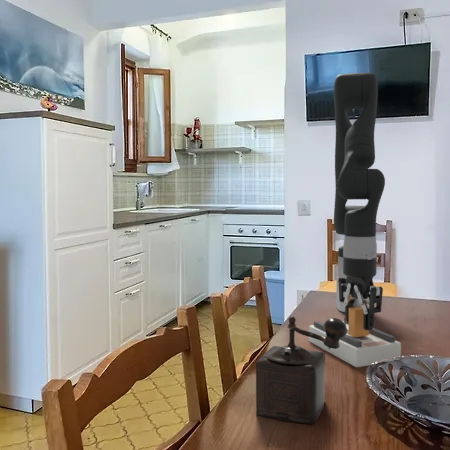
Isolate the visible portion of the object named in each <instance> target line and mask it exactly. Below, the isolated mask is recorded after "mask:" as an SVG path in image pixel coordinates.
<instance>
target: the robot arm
mask: <svg viewBox="0 0 450 450" xmlns="http://www.w3.org/2000/svg"><path fill="white" fill-rule="evenodd" d="M333 86H334V87H333V103H334V118H335V119H334V120H335V121H334V122H335V147H334V176H335V179H334V180H335V181H334V182H335V192H334V194H335V195H334V209H333V211H334V212H333V213H334V214H333V227H334V231H335V233H336V234H337V235H341V236H344V239H343V245H341V246H339V247H338V249H337V250H338V251H337V255H338V256H337V259H338V260H337V278H336V291H335V293H336V299H335V301H336V303H335V304H336V309H337V310H338V311H340V312H341V313H344V318H345V321H346V322H349V308H352V307H361V306H362V307H363V311H364V313H365V314H363V329H365V330H372V329H373V328H374V324H375V321H374V320H375V314H378V313H381V312H382V303H383V295H384V294H383V293H384V292H383V291H384V288H383V287H382V286H377V285H375V284H374V282H373V278H375V276H377V258H378V253H377V252H378V247H377V246H378V245H377V215H378V210H379V209H378V208H379V204H380V203H381V199H382V196H383V193H384V190H385V185H386V178H385V174H384V173H383V172H382V171H381V170H380V169H378V168H372V167H373V165H374V164H375V162H376V150H375V149H376V148H375V146H376V145H375V128H376V122H377V121H376V120H377V111H378V109H377V107H378V96H379V92H378V89H379V88H378V79H377V76H376V74H375V73H374V72H365V71H364V72H352V73H351V72H349V73H340V74H338V75H336V77H335V79H334V85H333ZM359 109H363V110H362V112H361V113H360V115H359V116H358V117H357V118H356V119H355V120H354V122H353V123H351V120H350V118H349V115H348V112H347V110H359ZM348 200H367V203H366V204H365V205H347V202H348ZM375 304H376V305H375Z"/></svg>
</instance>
